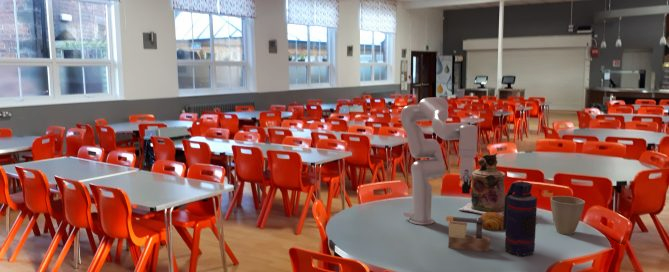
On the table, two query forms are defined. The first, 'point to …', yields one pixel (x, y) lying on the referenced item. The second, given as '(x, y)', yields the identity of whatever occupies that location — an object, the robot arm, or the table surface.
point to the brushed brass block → (457, 229)
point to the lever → (464, 219)
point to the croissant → (492, 221)
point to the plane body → (471, 241)
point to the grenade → (520, 219)
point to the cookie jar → (487, 188)
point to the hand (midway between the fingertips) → (466, 191)
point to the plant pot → (566, 213)
